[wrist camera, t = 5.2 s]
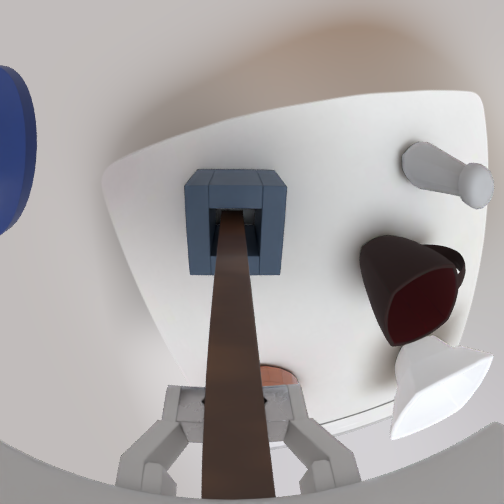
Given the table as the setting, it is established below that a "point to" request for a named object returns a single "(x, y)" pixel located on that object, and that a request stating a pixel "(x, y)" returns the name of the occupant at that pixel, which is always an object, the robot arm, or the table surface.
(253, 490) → the stirring stick
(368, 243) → the mug
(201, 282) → the table surface
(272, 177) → the box
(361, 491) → the robot arm
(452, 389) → the bowl
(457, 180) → the salt shaker
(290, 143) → the table surface
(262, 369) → the terracotta round dish
